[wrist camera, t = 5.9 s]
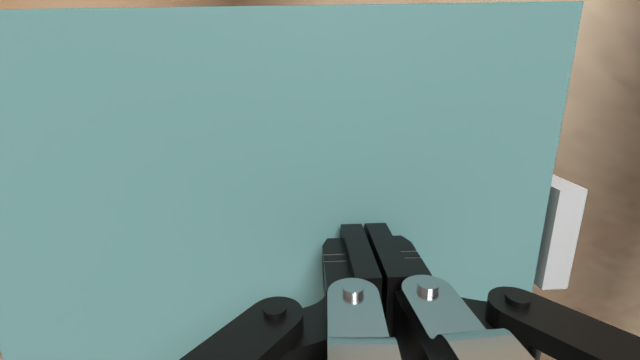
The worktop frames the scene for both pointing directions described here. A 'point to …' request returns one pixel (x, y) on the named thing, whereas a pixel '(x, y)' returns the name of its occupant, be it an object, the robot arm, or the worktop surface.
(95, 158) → the lid
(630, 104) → the worktop surface
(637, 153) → the worktop surface
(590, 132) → the worktop surface
